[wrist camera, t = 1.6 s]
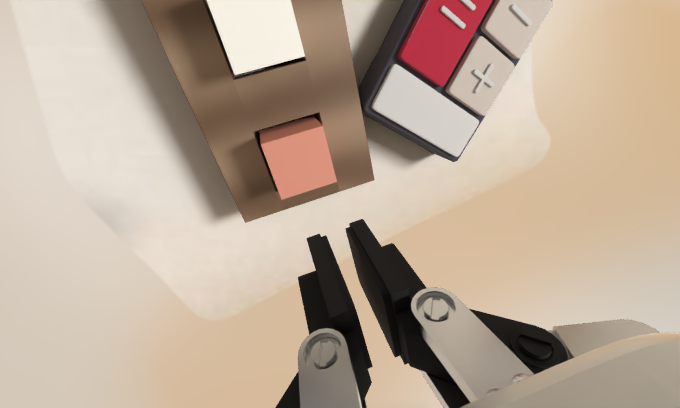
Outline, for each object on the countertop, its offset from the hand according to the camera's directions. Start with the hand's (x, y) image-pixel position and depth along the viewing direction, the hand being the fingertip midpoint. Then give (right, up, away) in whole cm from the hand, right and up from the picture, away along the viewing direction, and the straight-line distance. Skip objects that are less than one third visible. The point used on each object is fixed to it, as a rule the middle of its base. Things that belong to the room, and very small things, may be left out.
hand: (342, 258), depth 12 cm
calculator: (+9, +16, +15) cm, 24 cm away
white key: (-6, +14, +9) cm, 18 cm away
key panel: (-5, +11, +13) cm, 18 cm away
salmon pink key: (-4, +7, +13) cm, 16 cm away
